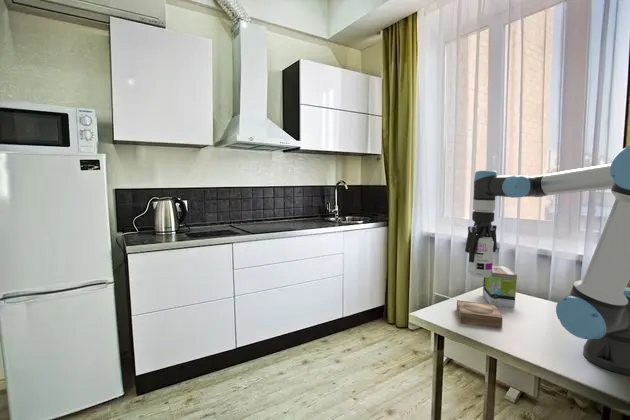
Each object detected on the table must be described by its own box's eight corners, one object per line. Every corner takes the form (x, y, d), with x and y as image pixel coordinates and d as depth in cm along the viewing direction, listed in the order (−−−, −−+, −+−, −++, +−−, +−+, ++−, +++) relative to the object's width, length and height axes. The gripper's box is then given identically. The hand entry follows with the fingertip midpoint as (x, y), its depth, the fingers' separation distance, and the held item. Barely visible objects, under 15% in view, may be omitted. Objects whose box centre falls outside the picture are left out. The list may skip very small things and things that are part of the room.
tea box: (515, 308, 139) (517, 274, 138) (489, 305, 142) (491, 272, 141) (505, 296, 154) (507, 265, 153) (482, 294, 157) (483, 264, 155)
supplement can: (486, 272, 131) (488, 235, 130) (495, 278, 123) (497, 239, 122) (465, 271, 132) (467, 234, 131) (472, 277, 124) (475, 238, 123)
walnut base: (501, 328, 120) (502, 317, 120) (460, 322, 124) (461, 312, 124) (493, 313, 133) (494, 303, 133) (456, 309, 138) (457, 299, 137)
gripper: (491, 209, 133) (488, 264, 135) (456, 211, 124) (453, 269, 126) (509, 211, 127) (506, 268, 129) (473, 212, 117) (470, 274, 119)
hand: (480, 269), depth 127 cm, fingers closed on supplement can, 8 cm apart
